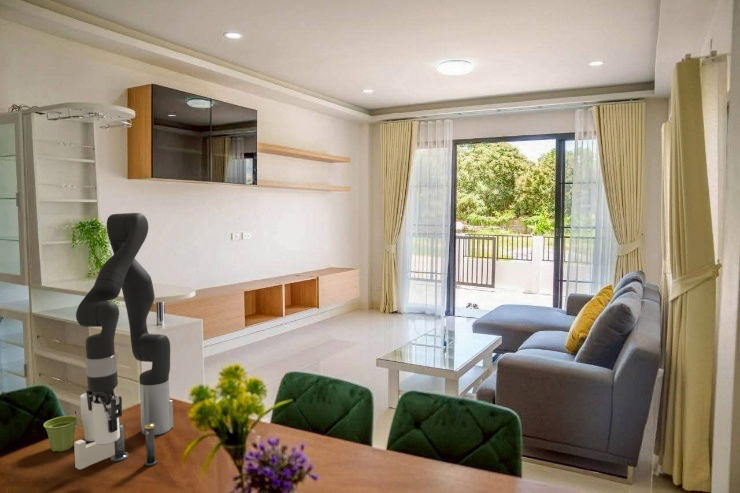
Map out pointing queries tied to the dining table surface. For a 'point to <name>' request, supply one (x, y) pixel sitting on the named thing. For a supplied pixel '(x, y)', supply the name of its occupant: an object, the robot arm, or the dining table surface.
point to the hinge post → (120, 447)
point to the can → (103, 425)
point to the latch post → (150, 445)
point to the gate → (91, 453)
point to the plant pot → (61, 432)
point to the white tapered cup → (87, 418)
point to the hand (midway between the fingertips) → (106, 428)
